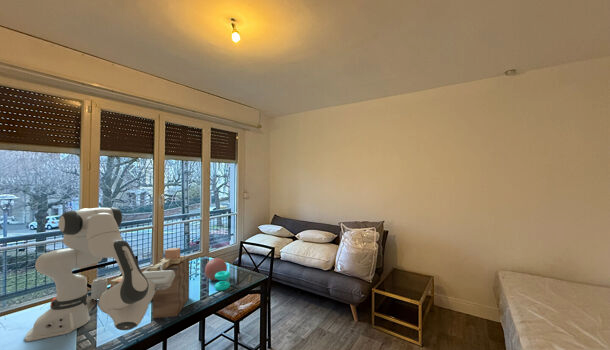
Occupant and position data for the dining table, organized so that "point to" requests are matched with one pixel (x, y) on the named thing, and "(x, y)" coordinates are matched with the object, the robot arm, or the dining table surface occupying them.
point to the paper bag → (173, 292)
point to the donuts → (222, 284)
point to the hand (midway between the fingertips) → (156, 265)
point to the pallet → (167, 263)
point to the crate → (172, 253)
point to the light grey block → (98, 287)
